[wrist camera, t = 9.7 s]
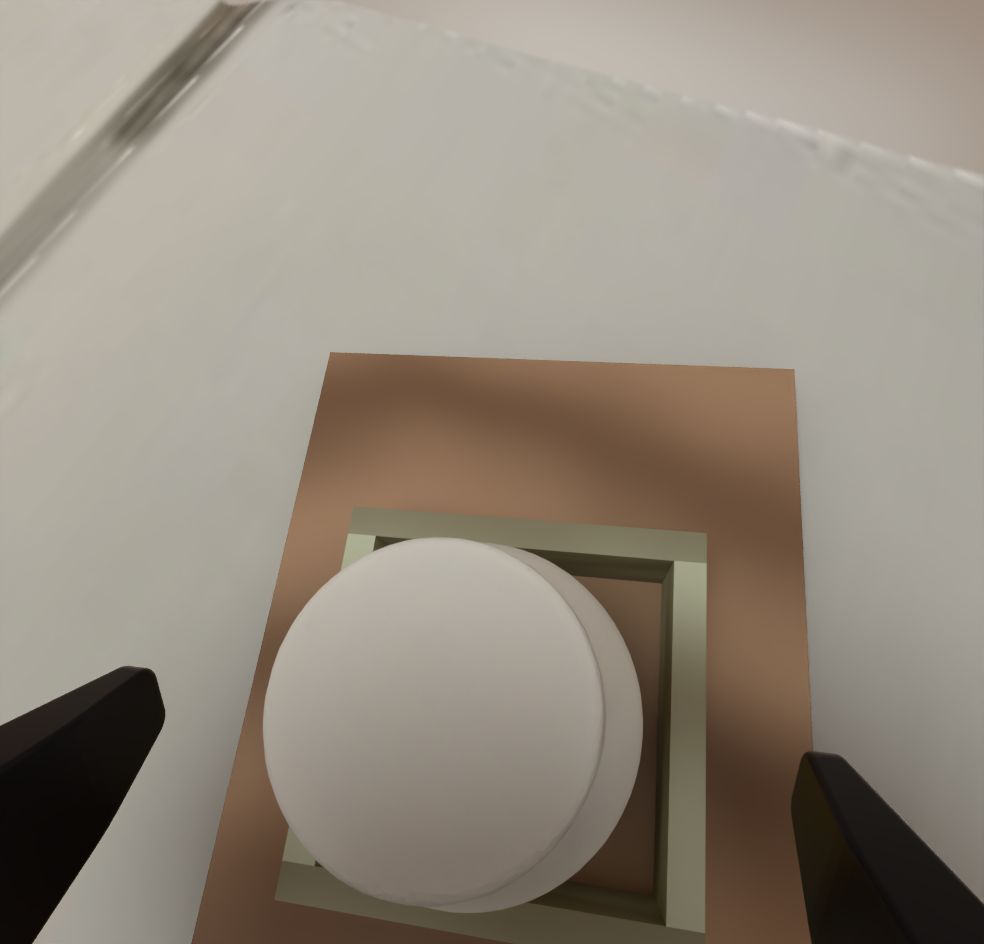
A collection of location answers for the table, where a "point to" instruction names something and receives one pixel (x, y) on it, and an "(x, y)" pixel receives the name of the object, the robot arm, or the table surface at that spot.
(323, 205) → the table surface
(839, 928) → the robot arm
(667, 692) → the bottle holder
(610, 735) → the supplement bottle
